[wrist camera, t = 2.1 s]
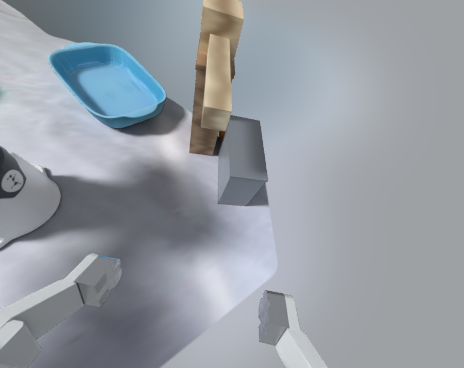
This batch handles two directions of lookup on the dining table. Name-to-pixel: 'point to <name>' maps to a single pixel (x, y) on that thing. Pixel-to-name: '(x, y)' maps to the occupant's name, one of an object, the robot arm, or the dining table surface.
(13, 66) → the dining table surface
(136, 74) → the casserole dish
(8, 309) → the robot arm
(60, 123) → the dining table surface
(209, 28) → the mallet
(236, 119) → the storage box
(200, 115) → the shelf block
